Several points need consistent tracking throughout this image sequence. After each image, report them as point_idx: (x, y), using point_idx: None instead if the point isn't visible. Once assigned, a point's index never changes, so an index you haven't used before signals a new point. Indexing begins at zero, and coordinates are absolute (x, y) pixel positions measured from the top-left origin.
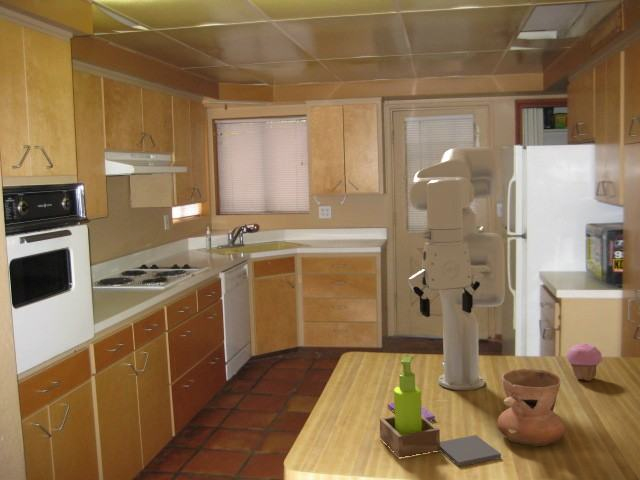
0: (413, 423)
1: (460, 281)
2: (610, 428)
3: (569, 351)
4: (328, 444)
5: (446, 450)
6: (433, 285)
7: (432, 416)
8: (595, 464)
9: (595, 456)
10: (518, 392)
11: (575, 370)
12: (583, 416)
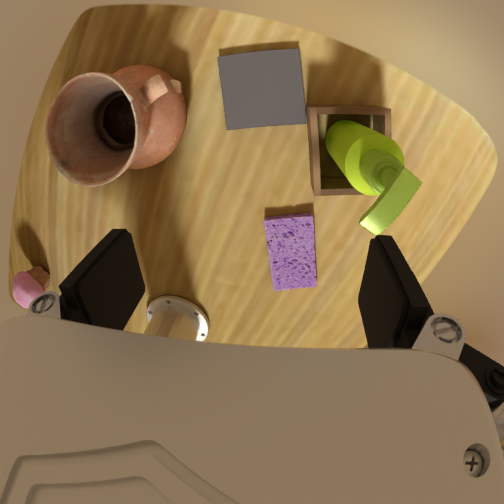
0: (359, 125)
1: (44, 374)
2: None
3: None
4: (445, 197)
5: (300, 91)
6: (456, 387)
7: (269, 220)
8: (106, 29)
9: (95, 50)
10: (130, 87)
11: (44, 280)
12: None
